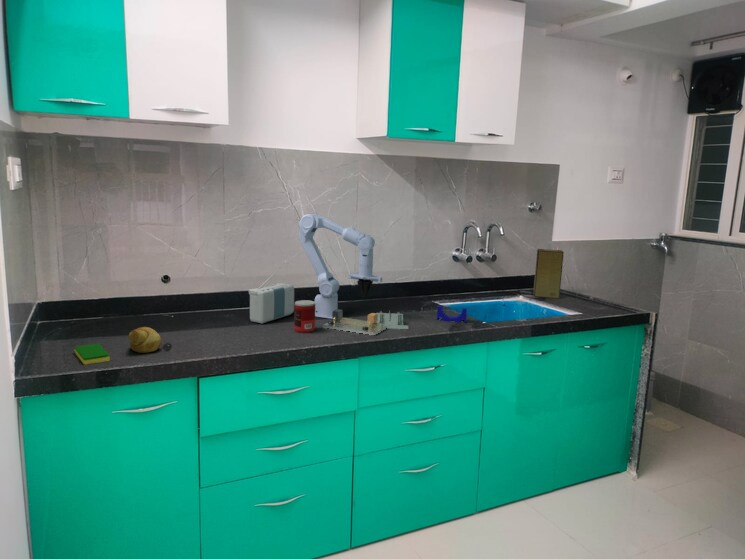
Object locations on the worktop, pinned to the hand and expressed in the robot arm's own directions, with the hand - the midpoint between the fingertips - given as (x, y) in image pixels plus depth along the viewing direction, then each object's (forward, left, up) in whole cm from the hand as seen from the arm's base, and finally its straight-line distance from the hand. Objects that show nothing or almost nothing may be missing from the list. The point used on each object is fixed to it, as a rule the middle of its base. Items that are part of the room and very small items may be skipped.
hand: (364, 297), depth 231 cm
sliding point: (+9, -13, -8) cm, 18 cm away
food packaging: (+62, +101, -10) cm, 119 cm away
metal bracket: (+13, -3, -10) cm, 16 cm away
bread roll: (-44, -75, -10) cm, 88 cm away
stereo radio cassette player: (-33, -19, -10) cm, 39 cm away
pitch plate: (+3, -15, -9) cm, 18 cm away
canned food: (-12, -28, -10) cm, 32 cm away
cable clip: (+33, +19, -10) cm, 39 cm away
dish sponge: (-52, -89, -10) cm, 104 cm away
